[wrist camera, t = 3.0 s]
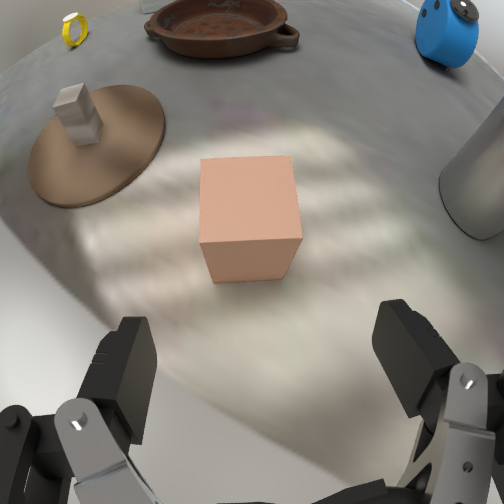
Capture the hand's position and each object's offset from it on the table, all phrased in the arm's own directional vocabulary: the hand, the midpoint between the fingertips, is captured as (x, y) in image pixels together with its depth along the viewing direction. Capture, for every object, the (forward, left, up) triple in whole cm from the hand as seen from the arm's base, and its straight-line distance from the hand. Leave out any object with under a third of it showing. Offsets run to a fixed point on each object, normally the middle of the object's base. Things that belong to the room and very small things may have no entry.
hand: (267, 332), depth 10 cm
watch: (-19, -50, -12) cm, 55 cm away
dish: (-29, -27, -12) cm, 41 cm away
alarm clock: (-53, -1, -12) cm, 54 cm away
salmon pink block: (-6, -5, -12) cm, 14 cm away
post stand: (-6, -25, -12) cm, 28 cm away
